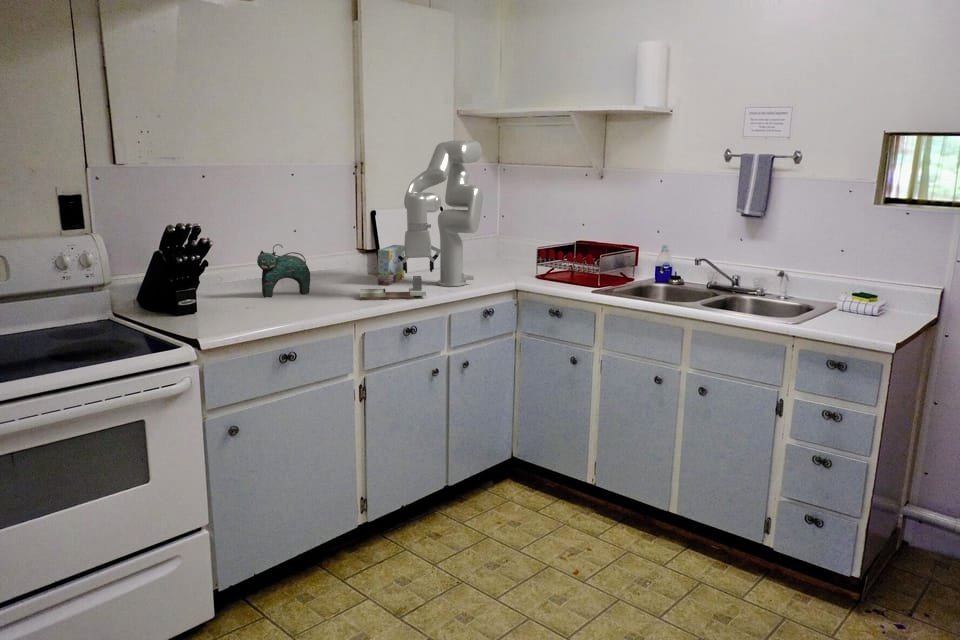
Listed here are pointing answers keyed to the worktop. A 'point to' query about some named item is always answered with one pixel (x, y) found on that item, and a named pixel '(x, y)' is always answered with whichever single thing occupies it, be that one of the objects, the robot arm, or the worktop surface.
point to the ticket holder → (382, 294)
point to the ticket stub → (417, 287)
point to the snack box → (390, 265)
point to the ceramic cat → (283, 271)
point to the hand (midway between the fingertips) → (418, 271)
